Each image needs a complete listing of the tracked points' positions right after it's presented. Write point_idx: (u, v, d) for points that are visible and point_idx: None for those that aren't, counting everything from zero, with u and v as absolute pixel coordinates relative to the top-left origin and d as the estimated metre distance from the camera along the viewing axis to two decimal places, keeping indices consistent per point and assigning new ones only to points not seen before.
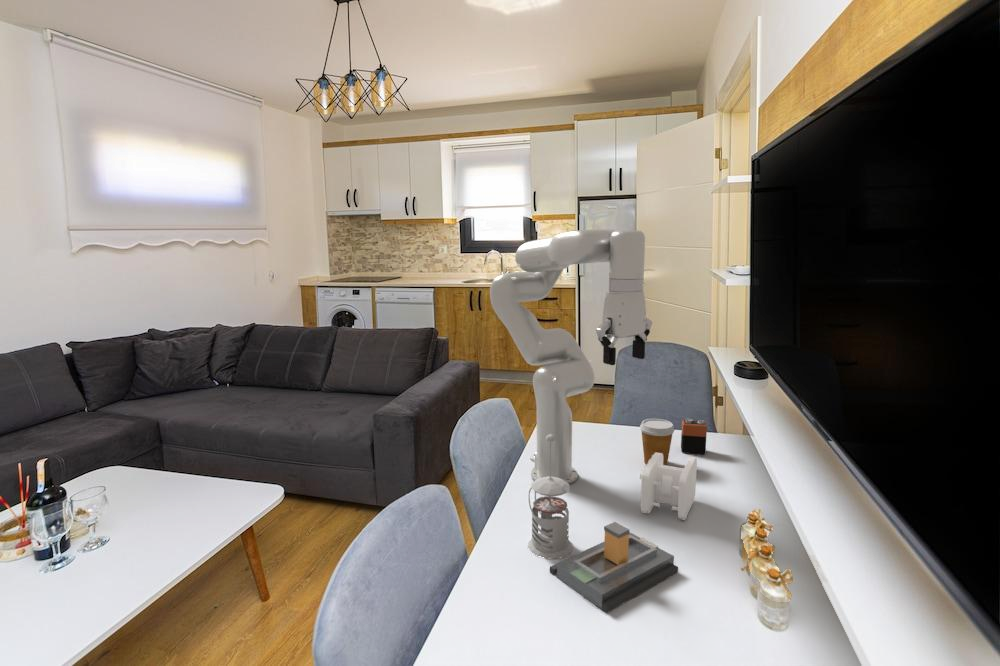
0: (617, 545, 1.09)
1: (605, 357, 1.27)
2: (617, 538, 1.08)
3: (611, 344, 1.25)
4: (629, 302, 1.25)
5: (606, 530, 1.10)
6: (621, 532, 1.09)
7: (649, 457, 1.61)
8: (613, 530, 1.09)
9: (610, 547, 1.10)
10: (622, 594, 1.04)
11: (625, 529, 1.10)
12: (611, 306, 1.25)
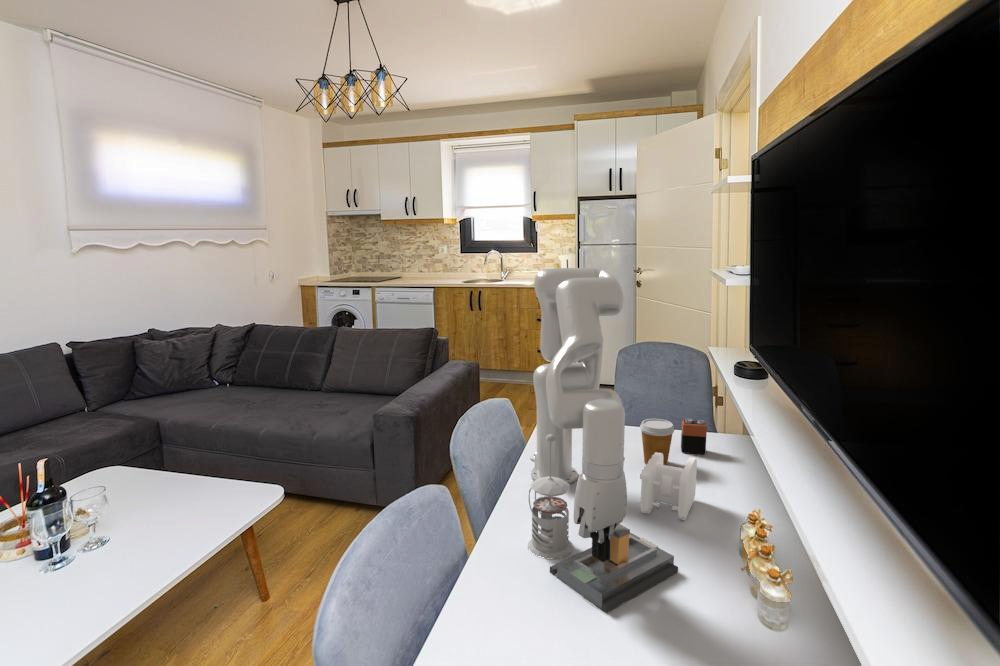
0: (617, 545, 1.09)
1: (594, 551, 1.08)
2: (617, 538, 1.08)
3: (601, 539, 1.06)
4: (606, 490, 1.03)
5: None
6: (621, 532, 1.09)
7: (649, 457, 1.61)
8: None
9: (610, 547, 1.10)
10: (622, 594, 1.04)
11: (625, 529, 1.10)
12: (584, 495, 1.03)
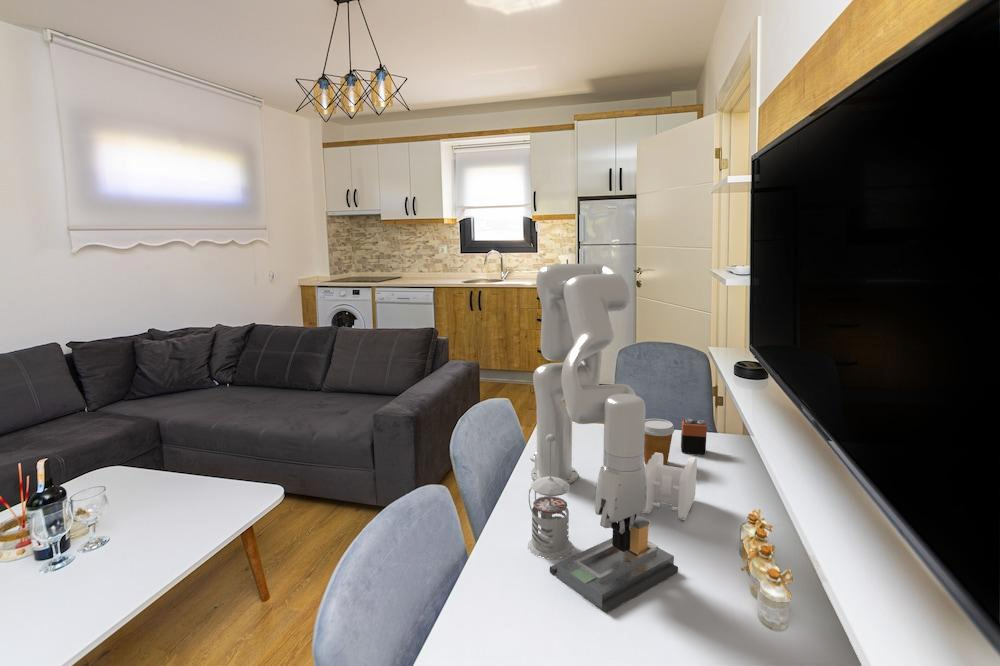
0: (637, 535, 1.12)
1: (615, 541, 1.11)
2: (637, 529, 1.12)
3: (622, 529, 1.09)
4: (627, 481, 1.06)
5: None
6: (641, 523, 1.12)
7: (649, 457, 1.61)
8: None
9: (630, 537, 1.14)
10: (622, 594, 1.04)
11: (645, 520, 1.13)
12: (606, 486, 1.06)
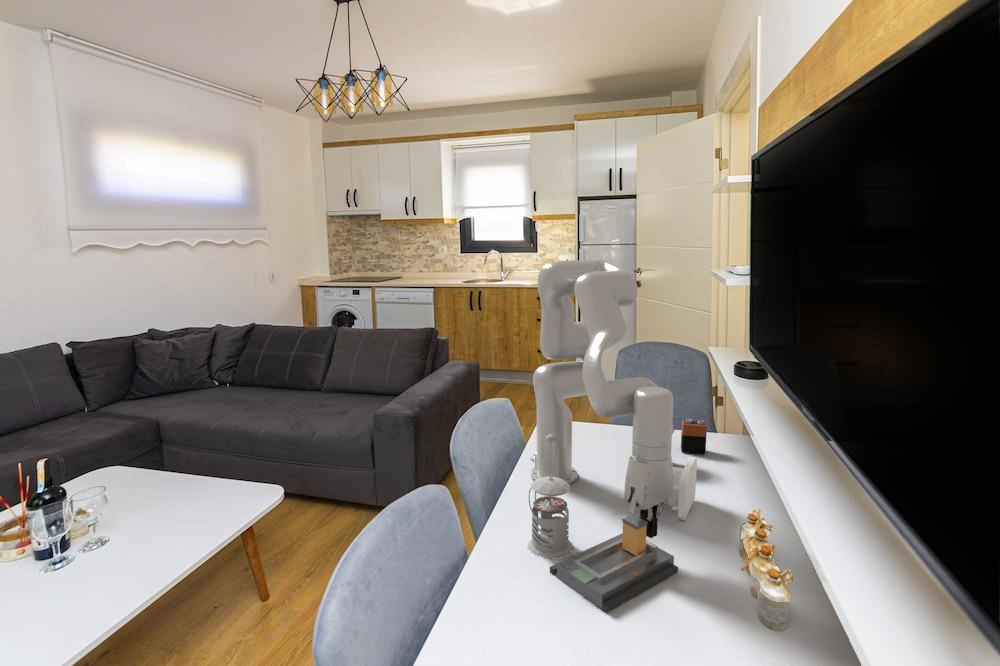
0: (635, 536, 1.12)
1: None
2: (635, 529, 1.11)
3: (650, 517, 1.14)
4: (655, 470, 1.11)
5: (624, 522, 1.13)
6: (639, 524, 1.12)
7: None
8: (631, 522, 1.12)
9: (628, 538, 1.13)
10: (622, 594, 1.04)
11: (643, 521, 1.13)
12: (635, 475, 1.11)
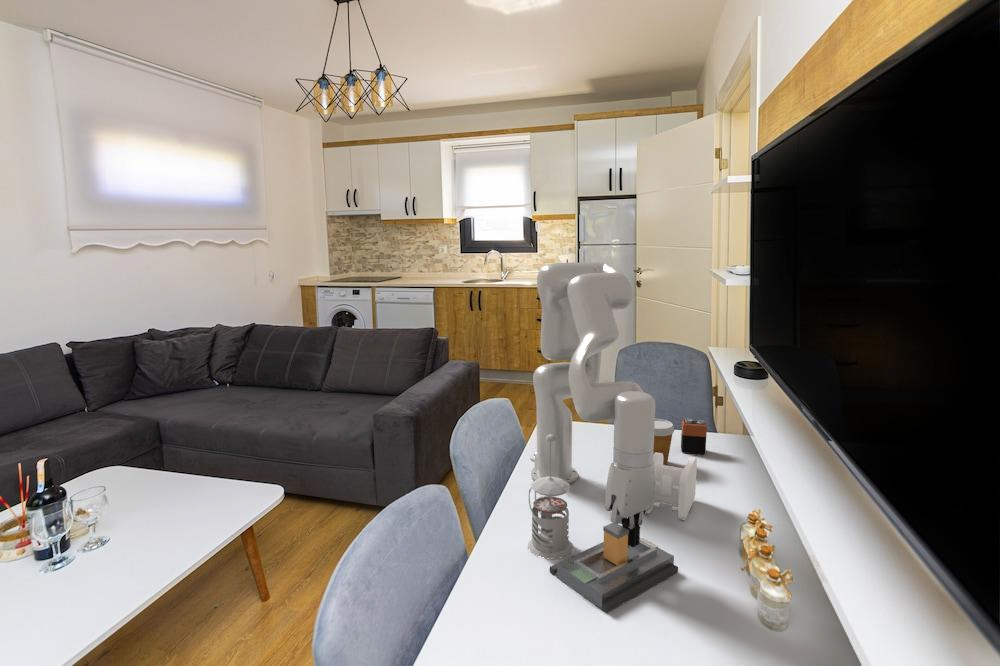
0: (616, 545, 1.08)
1: None
2: (616, 538, 1.08)
3: (631, 525, 1.11)
4: (637, 478, 1.08)
5: (605, 530, 1.10)
6: (620, 532, 1.08)
7: None
8: (612, 530, 1.09)
9: (609, 547, 1.10)
10: (622, 594, 1.04)
11: (624, 529, 1.09)
12: (616, 482, 1.08)
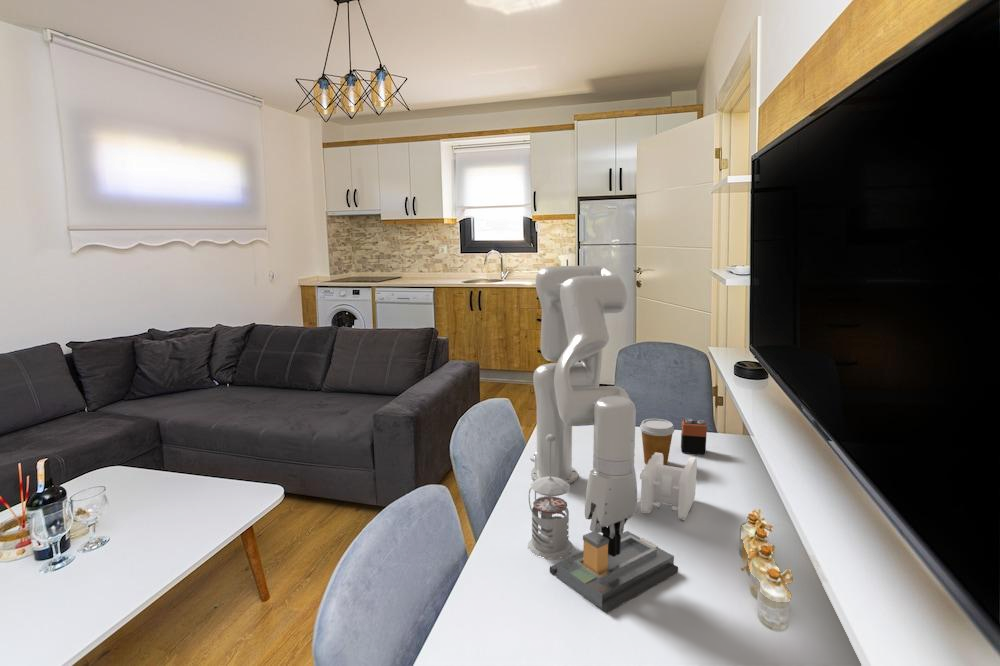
0: (596, 555, 1.05)
1: None
2: (596, 548, 1.05)
3: (612, 534, 1.08)
4: (617, 486, 1.05)
5: (585, 539, 1.07)
6: (600, 542, 1.05)
7: (649, 457, 1.61)
8: (592, 540, 1.06)
9: (589, 557, 1.07)
10: (622, 594, 1.04)
11: (604, 538, 1.06)
12: (595, 490, 1.05)
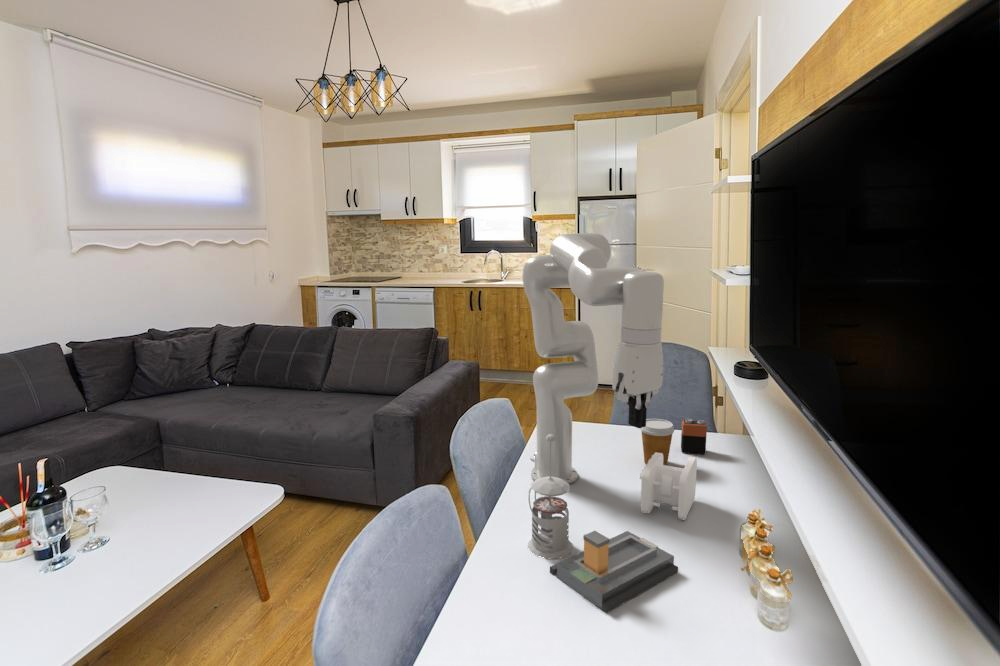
0: (596, 555, 1.05)
1: (631, 419, 1.13)
2: (596, 548, 1.05)
3: (638, 405, 1.12)
4: (644, 355, 1.08)
5: (585, 539, 1.07)
6: (600, 541, 1.05)
7: (649, 457, 1.61)
8: (592, 539, 1.06)
9: (589, 556, 1.07)
10: (622, 594, 1.04)
11: (605, 538, 1.06)
12: (623, 360, 1.08)
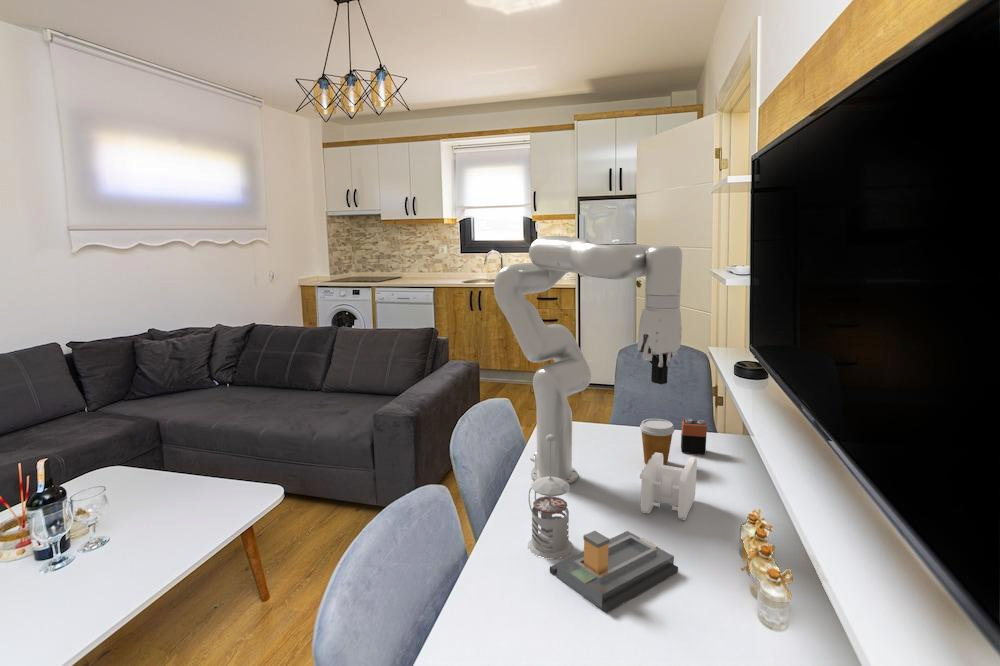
0: (596, 555, 1.05)
1: (654, 376, 1.28)
2: (596, 548, 1.05)
3: (660, 364, 1.27)
4: (666, 319, 1.24)
5: (585, 539, 1.07)
6: (600, 541, 1.05)
7: (649, 457, 1.61)
8: (592, 539, 1.06)
9: (589, 556, 1.07)
10: (622, 594, 1.04)
11: (605, 538, 1.06)
12: (648, 323, 1.24)
